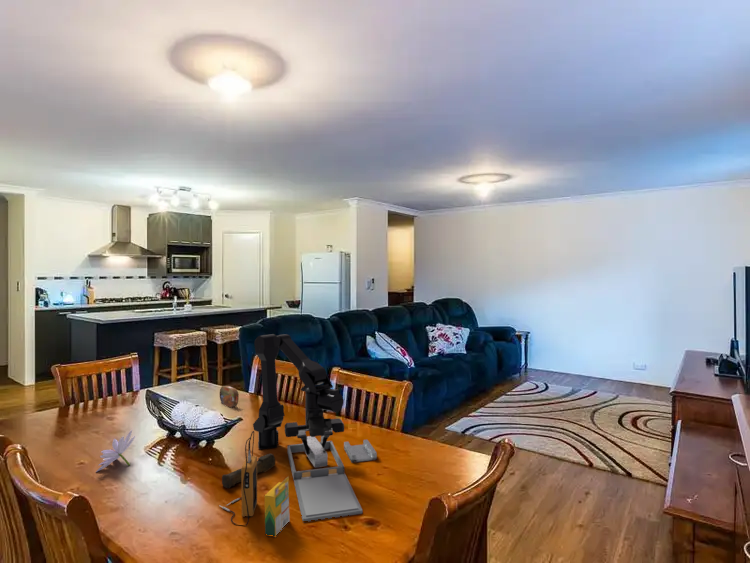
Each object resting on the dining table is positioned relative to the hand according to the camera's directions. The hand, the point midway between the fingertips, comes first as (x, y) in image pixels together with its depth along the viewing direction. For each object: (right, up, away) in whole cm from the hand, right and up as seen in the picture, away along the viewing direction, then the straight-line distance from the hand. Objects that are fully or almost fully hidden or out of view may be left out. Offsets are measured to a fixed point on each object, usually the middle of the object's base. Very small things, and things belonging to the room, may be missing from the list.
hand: (314, 453), depth 150 cm
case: (+3, -4, -11) cm, 12 cm away
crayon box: (-4, -5, -37) cm, 38 cm away
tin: (-48, -2, +64) cm, 80 cm away
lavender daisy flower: (-64, -3, -1) cm, 64 cm away
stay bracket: (+15, -3, +7) cm, 17 cm away
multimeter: (-17, -4, -29) cm, 34 cm away
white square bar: (0, -1, 0) cm, 1 cm away
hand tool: (-18, -4, -9) cm, 21 cm away
